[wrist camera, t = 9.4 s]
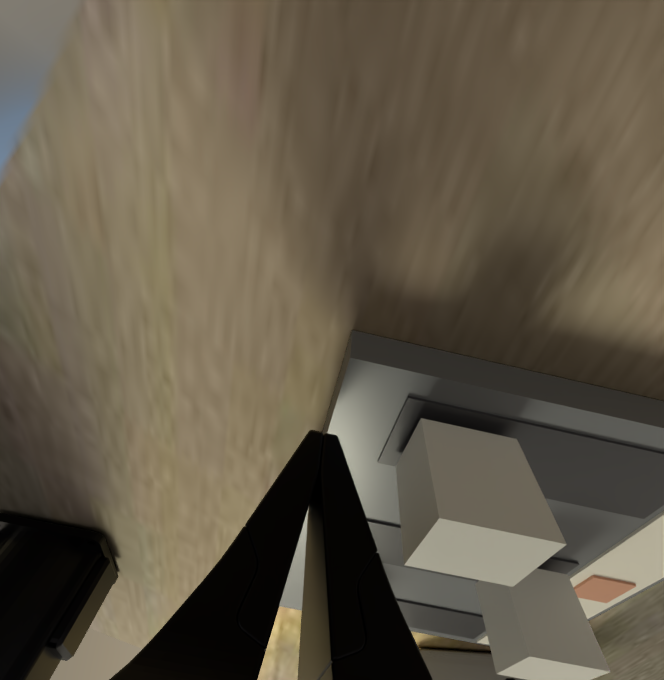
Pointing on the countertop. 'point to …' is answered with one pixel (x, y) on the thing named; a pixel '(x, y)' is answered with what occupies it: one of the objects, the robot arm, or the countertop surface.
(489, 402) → the switch housing
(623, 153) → the countertop surface
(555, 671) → the switch tab
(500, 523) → the switch tab
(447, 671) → the electrical switch
